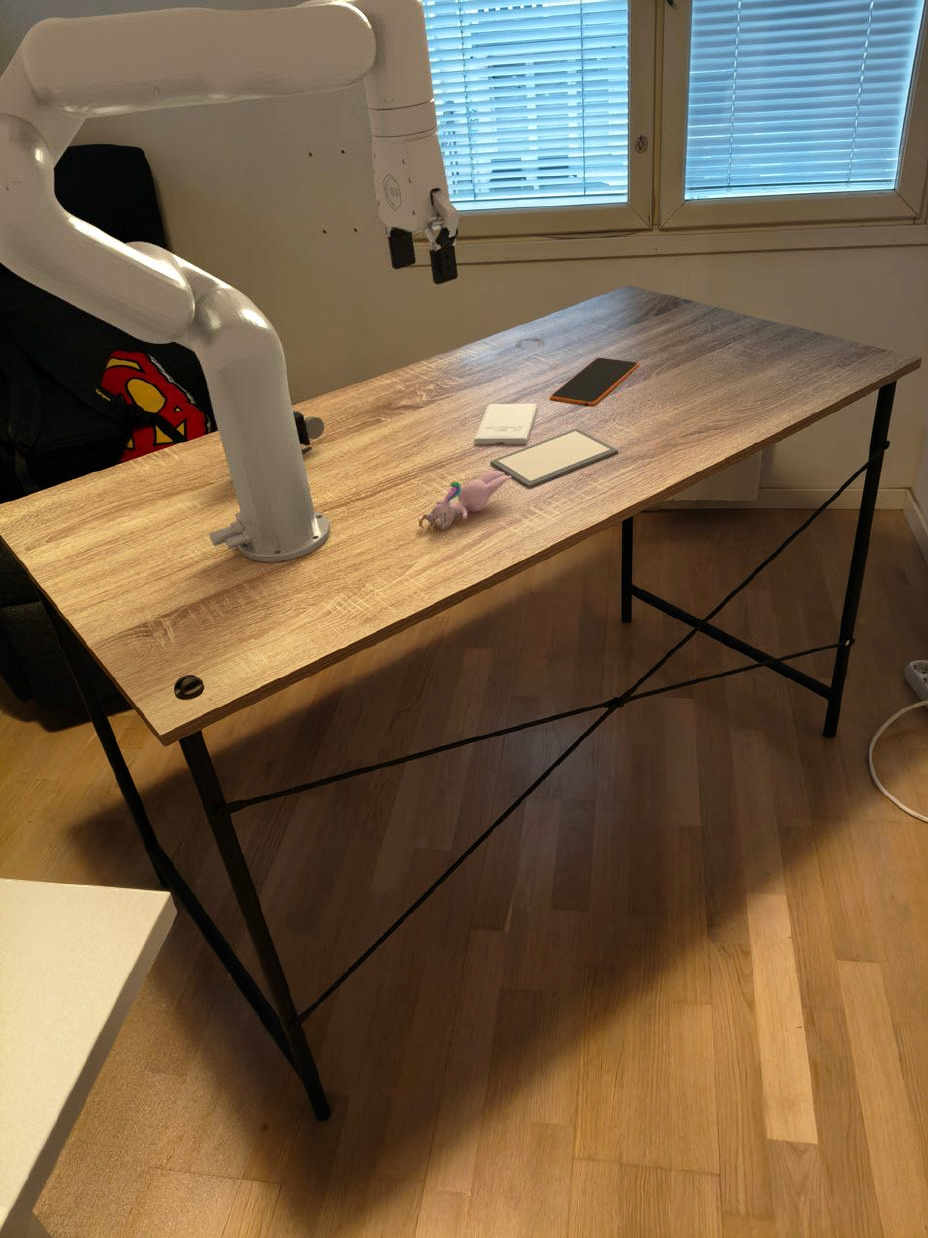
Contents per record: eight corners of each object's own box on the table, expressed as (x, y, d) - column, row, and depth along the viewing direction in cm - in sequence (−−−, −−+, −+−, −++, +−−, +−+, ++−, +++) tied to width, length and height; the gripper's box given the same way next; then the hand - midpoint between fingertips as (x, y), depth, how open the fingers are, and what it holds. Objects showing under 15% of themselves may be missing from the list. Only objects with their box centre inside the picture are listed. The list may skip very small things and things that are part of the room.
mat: (529, 487, 134) (529, 484, 134) (490, 463, 141) (490, 460, 141) (618, 452, 140) (618, 449, 140) (576, 430, 147) (576, 427, 147)
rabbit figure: (443, 549, 126) (525, 491, 132) (432, 513, 122) (517, 455, 128) (415, 533, 130) (495, 477, 136) (403, 497, 126) (487, 442, 132)
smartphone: (640, 366, 166) (640, 361, 166) (594, 408, 154) (594, 403, 154) (596, 360, 170) (596, 355, 170) (548, 401, 158) (547, 396, 158)
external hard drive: (537, 412, 156) (527, 447, 146) (488, 413, 157) (474, 447, 148) (537, 403, 155) (526, 437, 145) (487, 403, 156) (473, 437, 147)
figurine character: (300, 445, 156) (226, 474, 147) (295, 400, 152) (218, 426, 143) (328, 454, 153) (254, 485, 143) (324, 408, 149) (246, 436, 139)
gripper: (339, 121, 113) (364, 268, 123) (415, 134, 100) (436, 296, 111) (393, 108, 116) (414, 253, 126) (473, 119, 103) (489, 278, 114)
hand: (424, 273), depth 118 cm, fingers open, 9 cm apart
